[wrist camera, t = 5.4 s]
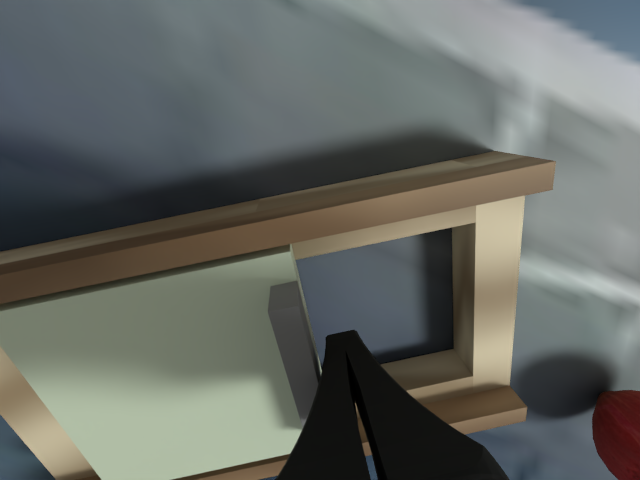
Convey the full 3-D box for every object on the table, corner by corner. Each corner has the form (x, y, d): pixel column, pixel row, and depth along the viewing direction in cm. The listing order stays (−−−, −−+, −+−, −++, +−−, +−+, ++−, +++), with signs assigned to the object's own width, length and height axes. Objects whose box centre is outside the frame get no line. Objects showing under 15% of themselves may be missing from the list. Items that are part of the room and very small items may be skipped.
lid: (333, 420, 16) (342, 479, 13) (123, 466, 16) (91, 535, 13) (290, 238, 12) (290, 272, 9) (7, 297, 12) (-74, 348, 9)
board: (486, 370, 18) (525, 420, 15) (91, 455, 18) (51, 525, 15) (495, 151, 13) (555, 161, 10) (-52, 262, 13) (-157, 307, 10)
